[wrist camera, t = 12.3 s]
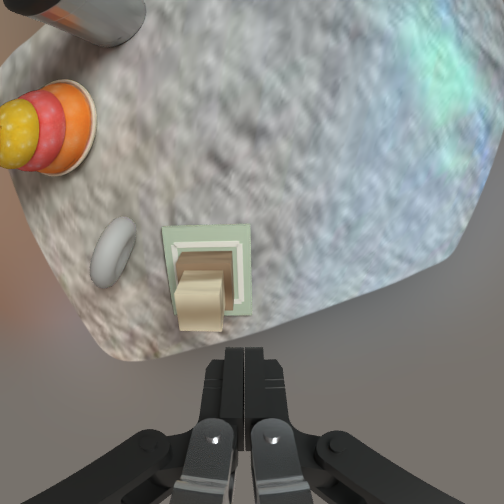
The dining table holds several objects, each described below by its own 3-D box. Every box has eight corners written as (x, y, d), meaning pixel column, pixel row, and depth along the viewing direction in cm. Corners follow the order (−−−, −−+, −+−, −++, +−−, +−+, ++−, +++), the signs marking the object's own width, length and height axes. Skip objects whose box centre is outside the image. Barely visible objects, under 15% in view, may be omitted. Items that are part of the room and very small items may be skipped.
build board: (163, 226, 41) (161, 228, 40) (250, 223, 41) (250, 225, 40) (175, 312, 46) (174, 315, 46) (252, 312, 46) (252, 315, 46)
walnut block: (181, 251, 42) (175, 263, 38) (232, 250, 42) (230, 262, 38) (187, 295, 44) (181, 310, 41) (234, 295, 44) (233, 310, 41)
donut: (127, 272, 44) (101, 306, 35) (108, 262, 43) (79, 294, 34) (148, 213, 40) (120, 238, 31) (126, 203, 40) (95, 225, 31)
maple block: (184, 270, 38) (174, 294, 33) (223, 270, 38) (219, 294, 33) (188, 304, 40) (179, 330, 35) (225, 304, 40) (221, 331, 35)
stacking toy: (84, 62, 32) (-8, 38, 14) (116, 144, 37) (26, 164, 19) (19, 114, 34) (-72, 125, 16) (47, 190, 39) (-42, 232, 21)
